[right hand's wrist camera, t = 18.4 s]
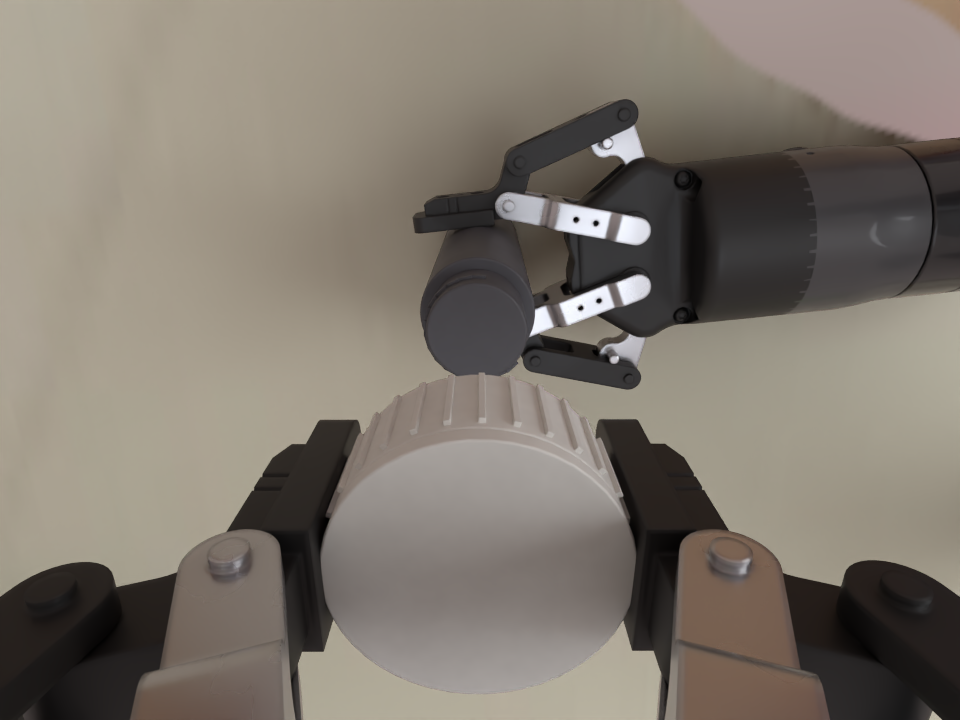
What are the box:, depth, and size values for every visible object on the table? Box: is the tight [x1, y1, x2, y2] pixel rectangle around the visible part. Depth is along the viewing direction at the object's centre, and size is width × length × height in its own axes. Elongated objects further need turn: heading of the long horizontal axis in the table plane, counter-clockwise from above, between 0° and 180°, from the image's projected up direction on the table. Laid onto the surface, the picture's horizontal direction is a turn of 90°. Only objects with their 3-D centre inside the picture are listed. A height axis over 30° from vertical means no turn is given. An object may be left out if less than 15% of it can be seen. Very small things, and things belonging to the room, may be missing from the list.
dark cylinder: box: [420, 219, 535, 376], centre depth 27 cm, size 4×4×16 cm
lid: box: [320, 373, 636, 694], centre depth 10 cm, size 5×5×2 cm
